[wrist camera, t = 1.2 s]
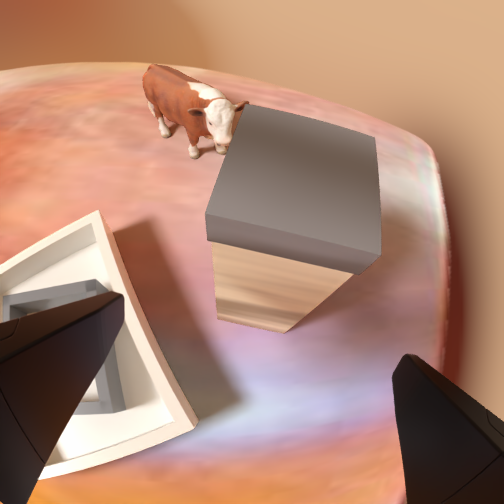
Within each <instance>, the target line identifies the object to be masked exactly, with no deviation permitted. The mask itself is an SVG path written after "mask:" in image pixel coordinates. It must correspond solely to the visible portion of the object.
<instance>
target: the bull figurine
mask: <svg viewBox="0 0 504 504" xmlns="http://www.w3.org/2000/svg"><path fill="white" fill-rule="evenodd" d="M143 88H144V91H145V95H146V98H147V99H148V106H149V109H150V110H151V112H152V113H153V115H154V117H157V119H158V121H159V130H161V135H162V137H164V138H167V137H169V136H171V132H170V130H169V128H168V127H167V125H166V124H165V122H164V119H163V115H164V116H165V117H166V118H167V119H168V120H170V121H172V122H174V123H178V124H181V125H183V126H184V127H185V128H186V131H187V134H188V137H189V140H190V143H191V144H190V147H189V148H188V151H189V153H190V157H191V158H192V159H197V158H199V156H200V154H199V150H198V148H197V143H198V141H199V137H200V136H204V137H205V138H208V139H214V143H215V147H216V150H217V153H218V154H221V155H223V154H226V153H227V149H226V147H225V146H229V145H230V142H231V140H232V134H231V130H232V122H233V118H234V116H235V112H237V111H241V110H242V109H244V107H245V104H249V102H248V101H242V102H240V103H237V104H232V103H231V102H230V101H228V99H227V98H226V97H225V96H224V95H223V94H222V92H221V91H219V90H218V89H216V88H213V87H212V86H210V85H208V84H203V83H201V82H199V81H197V80H195V79H193V78H191V77H189V76H187V75H185V74H183V73H182V72H180V71H178V70H175V69H173V68H170V67H168V66H163V65H157V64H151V65H150V66H149V67H148V70H147V72H146V73H145V74H144V75H143Z"/></svg>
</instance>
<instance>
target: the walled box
mask: <svg viewBox="0 0 504 504" xmlns="http://www.w3.org/2000/svg"><path fill="white" fill-rule="evenodd" d="M109 291H114V292H118V293H121V294H123V296H124V299H125V319H124V323H123V325H122V327H121V329H120V331H119V333H118V335H117V337H116V339H115V342H114V344H113V346H112V348H111V350H110V352H109V354H108V356H107V358H106V360H105V362H104V364H103V365H102V367H101V369H100V370H99V372H98V373H97V375H96V377H95V378H94V380H93V381H92V383H91V385H90V386H89V388H88V390H87V391H86V393H85V395H84V396H83V398H82V400H81V401H80V403H79V405H78V407H77V408H76V410H75V412H74V413H73V415H72V417H71V419H70V420H69V422H68V424H67V426H66V428H65V429H64V431H63V433H62V435H61V437H60V438H59V440H58V442H57V444H56V446H55V448H54V449H53V451H52V453H51V455H50V457H49V459H48V461H47V463H46V464H45V467H44V469H43V471H42V473H41V475H40V477H39V479H38V480H40V479H45V478H50V477H54V476H59V475H63V474H67V473H71V472H75V471H79V470H83V469H86V468H90V467H93V466H96V465H100V464H103V463H106V462H109V461H113V460H116V459H119V458H122V457H124V456H127V455H130V454H133V453H136V452H139V451H141V450H144V449H147V448H149V447H152V446H154V445H157V444H159V443H162V442H164V441H167V440H169V439H172V438H174V437H176V436H179V435H181V434H183V433H186V432H188V431H190V430H192V429H194V428H195V427H196V425H197V423H198V422H199V419H198V418H197V416H196V414H195V412H194V411H193V409H192V407H191V406H190V404H189V402H188V400H187V399H186V397H185V395H184V393H183V391H182V390H181V388H180V386H179V384H178V382H177V380H176V378H175V377H174V375H173V373H172V371H171V369H170V367H169V365H168V363H167V361H166V359H165V357H164V355H163V353H162V351H161V349H160V347H159V345H158V343H157V341H156V339H155V336H154V334H153V332H152V330H151V328H150V326H149V323H148V321H147V319H146V317H145V314H144V312H143V310H142V308H141V305H140V303H139V301H138V298H137V296H136V293H135V291H134V289H133V286H132V284H131V281H130V279H129V276H128V273H127V271H126V268H125V266H124V263H123V260H122V258H121V255H120V252H119V249H118V247H117V244H116V241H115V238H114V235H113V232H112V231H111V229H110V227H109V226H108V224H107V223H106V221H105V219H104V218H103V216H102V215H101V213H100V211H99V210H97V211H95V212H93V213H91V214H89V215H87V216H85V217H83V218H81V219H79V220H77V221H75V222H73V223H71V224H69V225H68V226H66V227H64V228H62V229H60V230H58V231H57V232H55V233H53V234H51V235H49V236H48V237H46V238H44V239H42V240H41V241H39V242H37V243H35V244H34V245H32V246H30V247H29V248H27V249H25V250H24V251H22V252H20V253H19V254H17V255H16V256H14V257H12V258H11V259H9V260H8V261H6V262H4V263H3V264H1V265H0V323H2V322H6V321H9V320H13V319H16V318H19V319H20V317H23V316H27V315H30V314H34V313H37V312H40V311H44V310H47V309H51V308H54V307H58V306H61V305H64V304H68V303H71V302H75V301H78V300H82V299H85V298H89V297H92V296H95V295H99V294H102V293H106V292H109Z"/></svg>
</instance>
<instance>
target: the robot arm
mask: <svg viewBox="0 0 504 504" xmlns="http://www.w3.org/2000/svg"><path fill="white" fill-rule="evenodd" d="M124 319H125V299H124V296H123V294H121V293H118V292H114V291H109V292H106V293H102V294H99V295H95V296H92V297H89V298H85V299H82V300H78V301H75V302H71V303H68V304H64V305H61V306H58V307H54V308H51V309H47V310H44V311H40V312H37V313H34V314H30V315H27V316H23V317H20V319H19V318H16V319H13V320H9V321H6V322H2V323H0V502H2V503H3V504H27V502H28V500H29V498H30V495H31V493H32V491H33V489H34V487H35V485H36V483H37V481H38V479H39V477H40V475H41V473H42V471H43V469H44V467H45V464H46V463H47V461H48V459H49V457H50V455H51V453H52V451H53V449H54V448H55V446H56V444H57V442H58V440H59V438H60V437H61V435H62V433H63V431H64V429H65V428H66V426H67V424H68V422H69V420H70V419H71V417H72V415H73V413H74V412H75V410H76V408H77V407H78V405H79V403H80V401H81V400H82V398H83V396H84V395H85V393H86V391H87V390H88V388H89V386H90V385H91V383H92V381H93V380H94V378H95V377H96V375H97V373H98V372H99V370H100V369H101V367H102V365H103V364H104V362H105V360H106V358H107V356H108V354H109V352H110V350H111V348H112V346H113V344H114V342H115V339H116V337H117V335H118V333H119V331H120V329H121V327H122V325H123V323H124ZM392 384H393V394H394V405H395V416H396V423H397V428H398V434H399V441H400V447H401V454H402V461H403V469H404V477H405V486H406V497H407V504H504V422H503V421H502V420H501V419H499V418H498V417H497V416H495V415H494V414H493V413H492V412H490V411H489V410H488V409H485V407H484V406H482V405H481V404H480V403H479V402H477V401H476V400H475V399H473V398H472V397H471V396H469V395H468V394H467V393H466V392H464V391H463V390H462V389H460V388H459V387H458V386H456V385H455V384H454V383H452V382H451V381H450V380H449V379H447V378H446V377H445V376H443V375H442V374H441V373H439V372H438V371H437V370H435V369H434V368H433V367H431V366H430V365H429V364H427V363H426V362H425V361H423V360H422V359H421V358H419V357H418V356H417V355H413V354H405V355H404V356H403V357H402V359H401V360H400V362H399V364H398V365H397V367H396V369H395V370H394V372H393V375H392Z"/></svg>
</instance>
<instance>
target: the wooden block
mask: <svg viewBox="0 0 504 504" xmlns="http://www.w3.org/2000/svg"><path fill="white" fill-rule="evenodd" d="M205 220H206V231H207V241H211V242H212V257H213V271H214V284H215V296H216V308H217V319H219V320H224V321H228V322H232V323H236V324H241V325H245V326H250V327H254V328H259V329H264V330H269V331H273V332H278V333H283V334H284V333H285V332H286V331H288V330H289V329H290V328H291V327H293V326H294V325H295V324H296V323H298V322H299V321H300V320H301V319H302V318H304V317H305V316H306V315H307V314H308V313H310V312H311V311H312V310H313V309H314V308H316V307H317V306H318V305H319V304H320V303H322V302H323V301H324V300H325V299H326V298H327V297H329V296H330V295H331V294H332V293H333V292H334V291H335V290H337V289H338V288H339V287H340V286H341V285H342V284H343V283H344V282H346V281H347V280H348V279H349V278H350V277H351V276H352V275H353V274H356V275H360V274H361V273H362V272H363V271H364V270H365V269H367V268H368V267H369V266H370V265H371V264H372V263H373V262H374V261H376V260H377V259H378V258H379V257H380V256H381V208H380V189H379V174H378V163H377V152H376V143H375V138H374V137H372V136H369V135H366V134H363V133H360V132H357V131H353V130H350V129H347V128H344V127H340V126H337V125H334V124H330V123H327V122H323V121H319V120H316V119H312V118H308V117H304V116H300V115H296V114H292V113H288V112H283V111H279V110H274V109H270V108H265V107H260V106H255V105H249V104H245V107H244V109H243V112H242V114H241V117H240V119H239V122H238V124H237V127H236V129H235V132H234V135H233V137H232V140H231V142H230V145H229V148H228V150H227V153H226V156H225V158H224V161H223V164H222V167H221V169H220V172H219V175H218V178H217V180H216V183H215V186H214V189H213V192H212V195H211V197H210V200H209V203H208V206H207V209H206V212H205Z"/></svg>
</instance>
